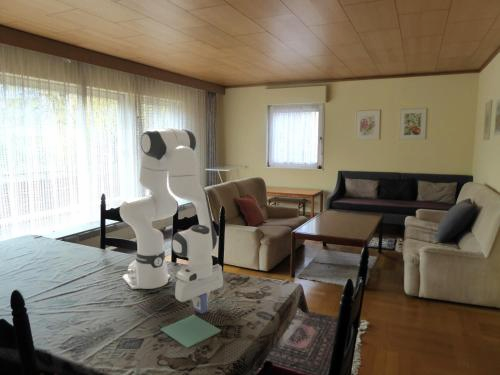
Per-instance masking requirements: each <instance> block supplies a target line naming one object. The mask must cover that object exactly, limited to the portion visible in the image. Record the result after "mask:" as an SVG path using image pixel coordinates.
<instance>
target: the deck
mask: <svg viewBox="0 0 500 375" xmlns="http://www.w3.org/2000/svg"><path fill="white" fill-rule="evenodd" d="M196 301H198V302H199V307H196V308H195V307H194V311H196V312H198V313H199V314H200V315H201V314H205V313H207V311H208V310H207V309H208V308H207V307H208V306H207V305H208V299H207V294H206V293H205V294H203V295H200V296H197V299H196Z"/></svg>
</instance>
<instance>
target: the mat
mask: <svg viewBox="0 0 500 375" xmlns="http://www.w3.org/2000/svg"><path fill="white" fill-rule="evenodd" d="M159 330H160V331H161V332H163V333H164V334H166V335H167V336H168V337H170V338H172V339H173V340H175V341H176V342H178V343H179V344H180V345H181V346H183V347H185V348H186V349H189V348H191V347H193V346H195V345H197V344H198V343H201V342H203V341H205V340H206V339H209V338H211V337H213V336H215V335H217V334H219V333H220V332H222V330H221V329H220V328H218V327H217V326H215V325H213V324H211V323H210V322H208V321H206V320H204V319H202V318H200V317H198V316H197V315H195V314H192V315H189V316H187V317H184V318H182V319H180V320H178V321H176V322H174V323H171V324H169V325H166V326H164V327H162V328H160V329H159Z"/></svg>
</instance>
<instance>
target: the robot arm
mask: <svg viewBox="0 0 500 375" xmlns="http://www.w3.org/2000/svg"><path fill="white" fill-rule="evenodd" d="M196 147H197V140H196V137H195V135H194V133H193V132H192V131H190V130H186V129H179V128H161V129H160V128H159V129H155V128H152V129H148V130H145V131H144V132H143V133H142V135H141V138H140V148H141V151H142V156H141V163H140V172H139V183H140V185H141V187H142V188H144V189H146V190H148V191H149V194H148V195H147V196H137V197H132V198H129V199H126V200H123V201H122V203H121V205H120V206H119V215H120V218H121V220H122V221H123V222H124V223H126V224H128V225H129V226H130V227H131V228H132V229H133V231H134V233H135V236H136V244H137V251H135V252H134V254H135V260H134V261H132V262H131V263H130V264H129V265H128V267H127V268H128V269H126V270H127V271H126V272H127V273H125V274H123V275H122V279H123V281H124V282H125V283H126V284H127V285H128V286H129V287H130V289H132V290H136V289H144V290H145V289H147V290H149V289H157V288H160V287H163V286H165V285H167V284H168V282H169V279H171V275H170V274H169V272H168V271H169V270H168V263H167V260H166V259H165V258H166V252H165V250H164V248H165V247H164V245H165V244H164V234H163V232H161V230H159V229H157V228H154V227H153V222H156V221H159V220H165V219H168V218H171V217H173V216H175V214H176V213H177V211H178V201H177V199H176V198H179V199H181V200H185V201H187V202H190V203H192V204H193V205H194V207H195V210H196V215H197V220H198V224H195V225H192V226H190V227H189V228H188V229H186V230H182V231H178V232H176V233H174V235H173V236H172V239H171V249H172V252H173V253H174V254H175V255H176V256H178V257H181V258H187V259H188V263H187V264H186V265H185V266H184V267H183V268H182V269H180V270H178V271H177V272H176V273H175V274H176V275H175V276H176V278H177V280H176V282H175V286H174V287H175V289H174V297H175V299H176V300H177V301H179V302H180V303H185V302H186V301H187V302H188V301H189V300H191V302H192V303H193V305H192V306H193V308H194V309H195V308H196V307H199V302H198V301H196V299H197V296H200V295H203V294H205V293H206V294H207V300H208V299H209V297H210V295H211V292H213V291H215V290H218V289H220V288H222V287H223V285H224V276H223V267H222V265H221V264H219V263H216V264H215V265H213V257H212V254H213V250H214V249H215V248H216V246H217V243H218V235H217V232H216V229H215V227H214V221H213V217H212V211H211V207H210V202H209V198H208V194H207V191H206V189H205V188H204V187H202V185H201V184H200V180H199V174H198V173H199V172H198V164H197V158H196V154H195V149H196ZM168 187H169V188H168ZM169 190H170V191H169ZM170 192H171V193H172V194H173V195H172V194H171V193H170ZM174 196H175V197H176V198H175V197H174Z"/></svg>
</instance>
